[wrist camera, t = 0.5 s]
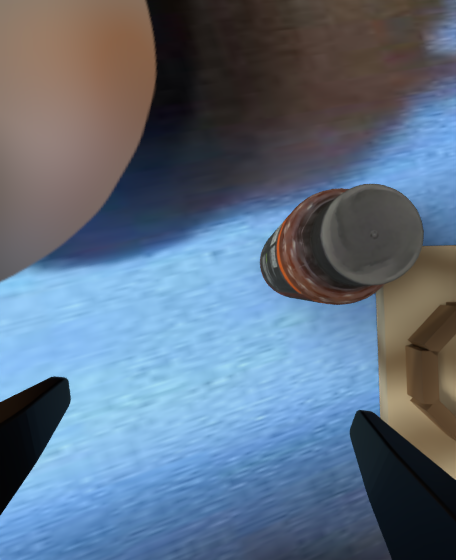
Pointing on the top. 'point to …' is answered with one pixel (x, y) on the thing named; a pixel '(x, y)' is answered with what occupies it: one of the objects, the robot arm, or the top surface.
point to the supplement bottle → (343, 245)
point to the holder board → (421, 354)
